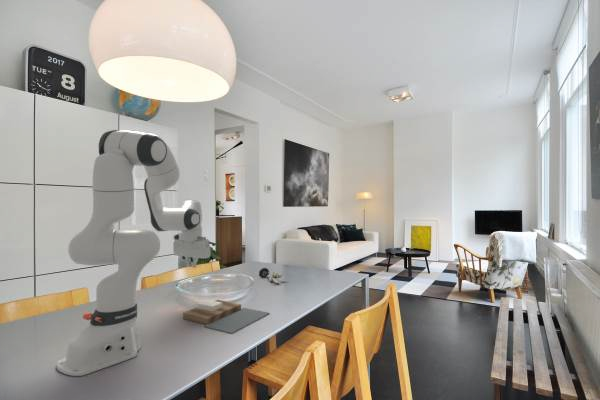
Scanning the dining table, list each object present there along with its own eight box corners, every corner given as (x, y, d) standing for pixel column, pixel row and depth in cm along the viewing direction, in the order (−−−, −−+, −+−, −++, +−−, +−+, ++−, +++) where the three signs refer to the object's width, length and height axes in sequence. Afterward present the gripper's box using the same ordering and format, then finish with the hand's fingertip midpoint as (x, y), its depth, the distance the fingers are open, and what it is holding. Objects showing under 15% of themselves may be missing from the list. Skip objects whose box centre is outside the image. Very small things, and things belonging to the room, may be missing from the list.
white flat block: (212, 311, 132) (212, 306, 132) (197, 308, 136) (197, 303, 136) (222, 307, 137) (222, 302, 137) (207, 304, 141) (207, 299, 141)
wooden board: (207, 325, 123) (207, 318, 124) (183, 318, 130) (183, 312, 130) (241, 309, 141) (241, 304, 141) (217, 305, 148) (217, 299, 148)
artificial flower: (270, 278, 205) (274, 264, 205) (281, 291, 185) (286, 275, 185) (257, 276, 202) (262, 261, 202) (268, 289, 181) (273, 272, 181)
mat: (231, 334, 115) (231, 332, 115) (204, 326, 122) (204, 325, 122) (269, 313, 136) (269, 312, 136) (243, 308, 143) (243, 307, 143)
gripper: (213, 236, 140) (213, 267, 140) (182, 234, 150) (182, 263, 150) (203, 237, 135) (203, 270, 134) (170, 235, 144) (170, 266, 144)
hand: (191, 266), depth 142 cm, fingers closed
